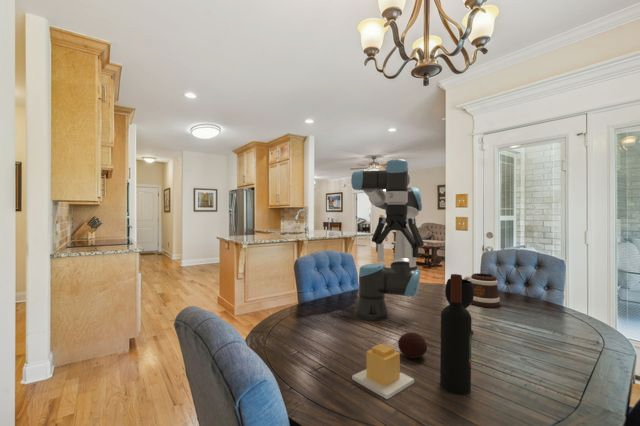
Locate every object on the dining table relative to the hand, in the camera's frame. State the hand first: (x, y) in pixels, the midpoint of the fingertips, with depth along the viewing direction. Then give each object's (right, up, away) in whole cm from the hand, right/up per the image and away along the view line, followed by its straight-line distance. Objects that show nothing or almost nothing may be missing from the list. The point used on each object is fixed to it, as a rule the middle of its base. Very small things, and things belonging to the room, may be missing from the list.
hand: (395, 264), depth 108 cm
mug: (+58, -30, +54) cm, 84 cm away
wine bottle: (+10, -29, -26) cm, 40 cm away
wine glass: (+29, -29, +14) cm, 43 cm away
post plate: (-9, -28, -23) cm, 38 cm away
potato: (+3, -29, -9) cm, 30 cm away
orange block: (-9, -27, -24) cm, 37 cm away
